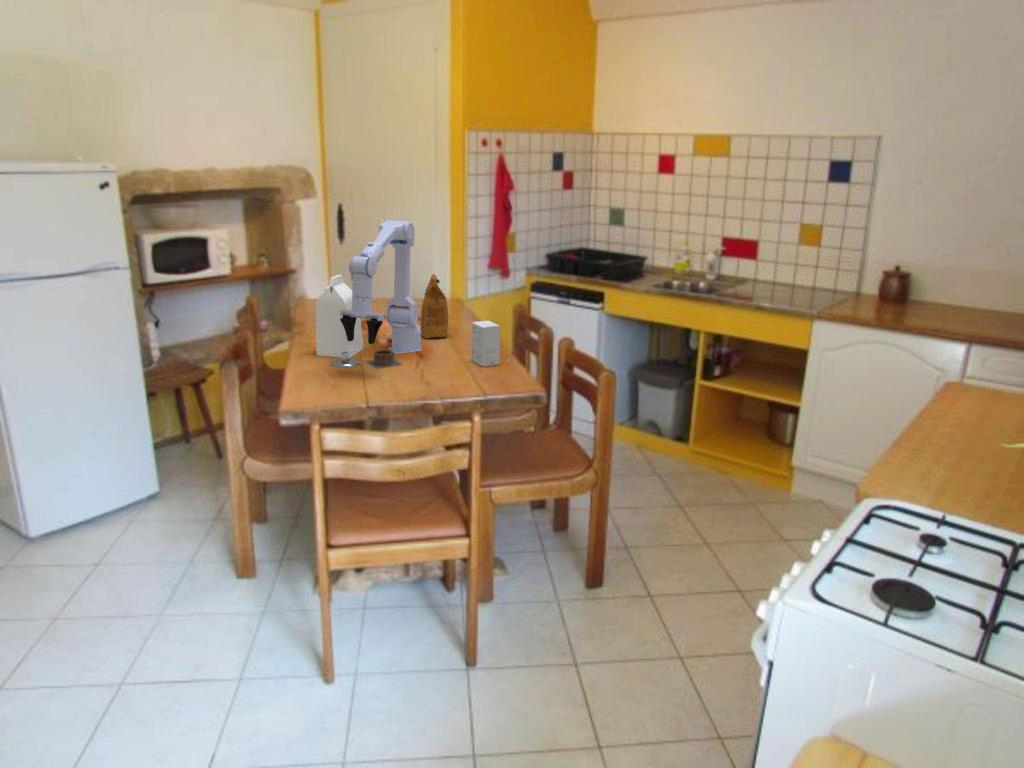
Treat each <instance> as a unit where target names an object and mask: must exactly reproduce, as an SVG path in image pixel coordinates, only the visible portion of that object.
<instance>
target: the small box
mask: <svg viewBox="0 0 1024 768" xmlns="http://www.w3.org/2000/svg"><path fill="white" fill-rule="evenodd" d="M500 333H501V325H499V324H496V323H495V322H493V321H491V320H481V321H472V322H471V361H472V362H474V363H476V364H477V365H479V366H481V367H490V366H496V365H497V366H498V365H500V360H501V358H500V356H501V355H500V354H501V353H500V347H501V345H500V341H501V335H500Z"/></svg>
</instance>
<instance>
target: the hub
mask: <svg viewBox="0 0 1024 768" xmlns="http://www.w3.org/2000/svg"><path fill="white" fill-rule="evenodd" d="M360 364H361V361H360V360H359V359H356V358H349V353H348V352H342V353H341V357H340V358H338V359H334V360H332V361H331V362H330V365H331V366H332V367H333V368H338V369H351V368H355V367H357V366H360Z"/></svg>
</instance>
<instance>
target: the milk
mask: <svg viewBox="0 0 1024 768" xmlns="http://www.w3.org/2000/svg"><path fill="white" fill-rule="evenodd" d="M343 309H344V310H352V288H350V287H349V286H348V285H347V284H346V283H345V282H344V278H343V275H342V274H337V275H333V276H332V277H330V280H329V285H328V286H326V288H324V290H323V292H322V294H321V295H320V296H318V297H317V299H316V300H315V336H316V337H315V339H316V342H315V343H316V347H315V348H316V351H315V352H316V356H319V357H321V356H323V357H333V358H335V357H336V358H341V353H342V352H348V353H349V359H351V357H353V356H354V355H356V354H357V353H359V352H360V351H362V350H363V349H364V343H363V341H364V339H363V330H362V321H361V319H362V318H357V319H356V323H355V328H354V340H353V341H348V340H347V336H346V332H345V329H344V326H343V324H342V323H341V321H340V318H342V317H343V316H340V310H343ZM354 316H359V315H354Z"/></svg>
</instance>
